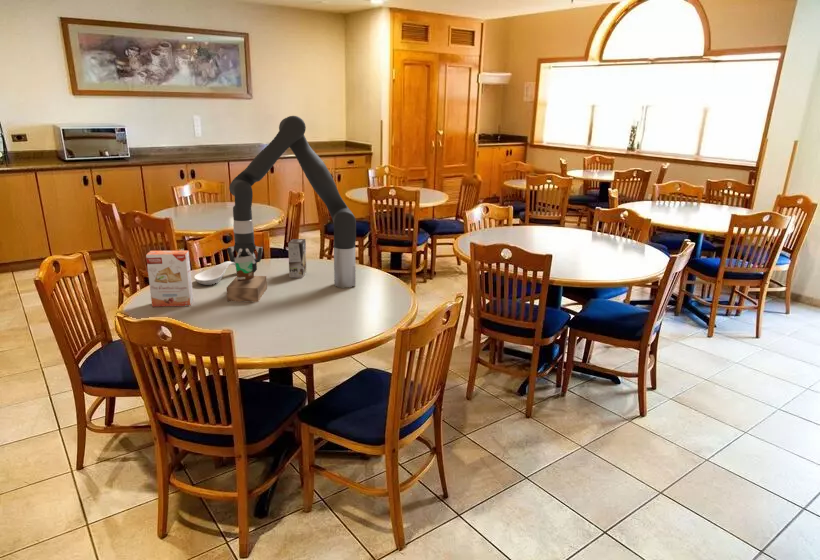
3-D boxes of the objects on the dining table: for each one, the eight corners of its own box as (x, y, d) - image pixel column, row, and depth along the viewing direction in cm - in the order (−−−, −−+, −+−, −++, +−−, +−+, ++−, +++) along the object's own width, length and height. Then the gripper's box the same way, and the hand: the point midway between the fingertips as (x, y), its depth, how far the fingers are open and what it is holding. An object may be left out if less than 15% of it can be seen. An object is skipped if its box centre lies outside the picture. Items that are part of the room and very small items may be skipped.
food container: (252, 282, 212) (250, 258, 209) (236, 282, 212) (234, 258, 209) (260, 273, 224) (258, 250, 220) (245, 273, 224) (243, 249, 221)
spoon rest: (207, 289, 225) (205, 273, 223) (188, 284, 231) (187, 268, 229) (249, 276, 245) (248, 260, 243) (232, 271, 251) (230, 256, 248)
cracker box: (151, 307, 203) (144, 254, 197) (156, 302, 209) (149, 250, 203) (190, 306, 205) (185, 253, 199) (194, 301, 211) (188, 249, 205)
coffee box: (303, 278, 243) (301, 243, 238) (289, 277, 243) (287, 242, 239) (307, 272, 252) (306, 238, 247) (293, 271, 252) (292, 238, 247)
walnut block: (267, 289, 228) (266, 276, 226) (258, 302, 212) (257, 288, 211) (238, 289, 227) (237, 275, 225) (227, 302, 212) (226, 287, 210)
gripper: (264, 228, 216) (266, 269, 221) (227, 228, 215) (230, 269, 220) (260, 233, 209) (263, 274, 214) (222, 232, 208) (226, 274, 213)
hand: (246, 271), depth 217 cm, fingers closed on food container, 5 cm apart
